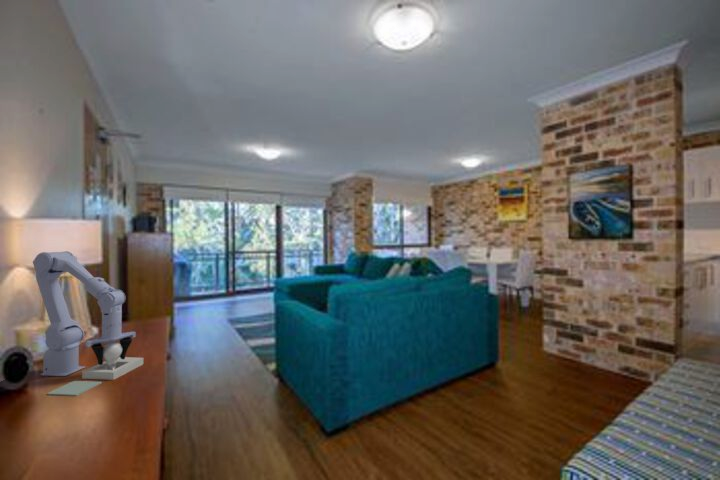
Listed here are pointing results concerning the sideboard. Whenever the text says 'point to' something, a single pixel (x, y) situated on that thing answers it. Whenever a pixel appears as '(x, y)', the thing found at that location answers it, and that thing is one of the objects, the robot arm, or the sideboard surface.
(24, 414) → the sideboard surface
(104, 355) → the lightbulb
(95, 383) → the mat
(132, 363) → the bulb holder
